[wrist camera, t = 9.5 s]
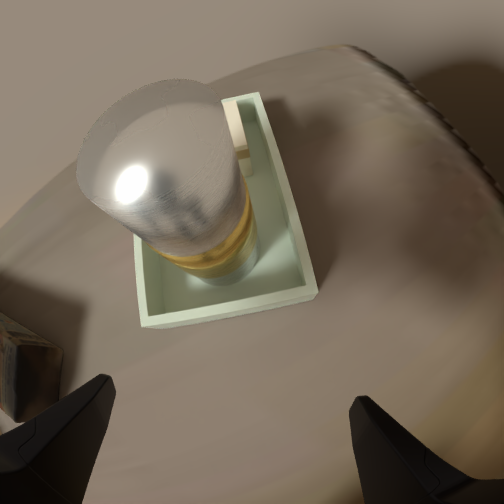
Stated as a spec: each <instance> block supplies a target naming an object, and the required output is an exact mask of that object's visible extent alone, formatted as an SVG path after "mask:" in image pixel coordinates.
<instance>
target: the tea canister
mask: <svg viewBox="0 0 504 504" xmlns="http://www.w3.org/2000/svg"><path fill="white" fill-rule="evenodd" d="M76 176H77V181H78V185H79V187H80V189H81V191H82V192H83V194H84V195H85V196H86V197H87V198H88V199H89V200H91V201H92V202H93V203H94V204H96V205H97V206H98V207H100V208H101V209H102V210H103V211H105V212H106V213H107V214H109V215H110V216H111V217H113V218H114V219H115V220H117V221H118V222H119V223H121V224H122V225H123V226H125V227H126V228H127V229H129V230H130V231H131V232H133V233H134V234H135V235H137V236H138V237H139V238H141V239H142V240H144V241H145V242H146V244H147V245H148V246H149V247H150V248H151V249H153V250H154V251H155V252H157V253H158V254H160V255H161V256H163V257H164V258H165V259H167V260H168V261H170V262H171V263H173V264H174V265H176V266H177V267H179V268H180V269H182V270H183V271H185V272H186V273H188V274H190V275H192V276H195V277H196V278H198V279H199V280H201V281H203V282H204V283H207V284H209V285H213V286H228V285H232V284H235V283H237V282H239V281H241V280H243V279H244V278H245V277H246V276H248V275H249V274H250V273H251V271H252V270H253V269H254V267H255V265H256V263H257V261H258V258H259V254H260V241H259V237H258V233H257V224H256V219H255V215H254V211H253V207H252V203H251V199H250V195H249V191H248V187H247V184H246V181H245V178H244V176H243V175H242V173H241V169H240V166H239V162H238V158H237V155H236V151H235V147H234V144H233V140H232V136H231V133H230V129H229V125H228V122H227V118H226V114H225V111H224V107H223V104H222V102H221V99H220V98H219V96H218V95H217V93H216V92H215V91H214V90H213V89H212V88H210V87H208V86H207V85H205V84H203V83H200V82H197V81H194V80H187V79H172V80H164V81H159V82H156V83H152V84H150V85H146V86H144V87H141V88H139V89H137V90H135V91H133V92H131V93H129V94H127V95H126V96H124V97H123V98H121V99H120V100H118V101H117V102H116V103H115V104H113V105H112V106H111V107H110V108H109V109H107V111H105V112H104V113H103V115H101V116H100V117H99V119H98V120H97V121H96V122H95V124H94V125H93V126H92V128H91V129H90V130H89V132H88V134H87V135H86V137H85V139H84V141H83V143H82V146H81V148H80V151H79V154H78V158H77V164H76Z"/></svg>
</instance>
